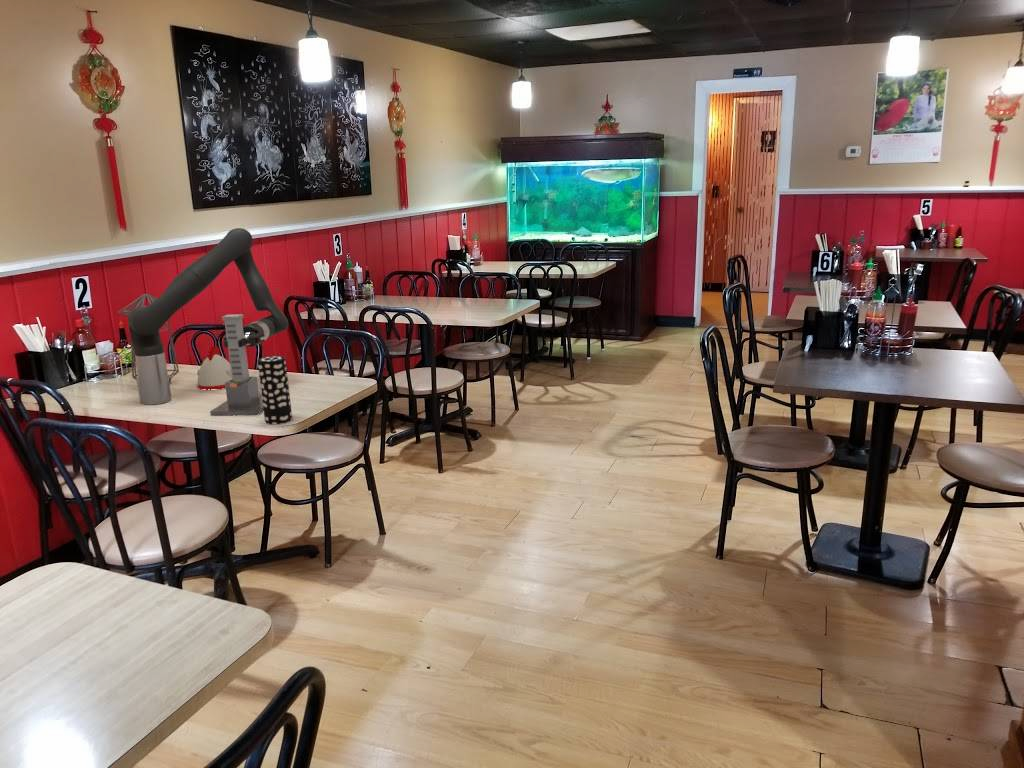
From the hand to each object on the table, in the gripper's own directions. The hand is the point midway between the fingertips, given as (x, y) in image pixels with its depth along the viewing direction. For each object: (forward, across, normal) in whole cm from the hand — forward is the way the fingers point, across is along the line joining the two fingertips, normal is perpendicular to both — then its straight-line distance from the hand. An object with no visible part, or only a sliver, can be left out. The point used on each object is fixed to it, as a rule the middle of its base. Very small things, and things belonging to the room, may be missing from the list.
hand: (232, 344), depth 246 cm
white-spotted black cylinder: (+10, +17, +23) cm, 30 cm away
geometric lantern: (-33, -47, +23) cm, 62 cm away
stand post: (-3, 0, +14) cm, 15 cm away
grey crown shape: (-33, -24, +23) cm, 47 cm away
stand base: (-3, 0, +23) cm, 23 cm away
